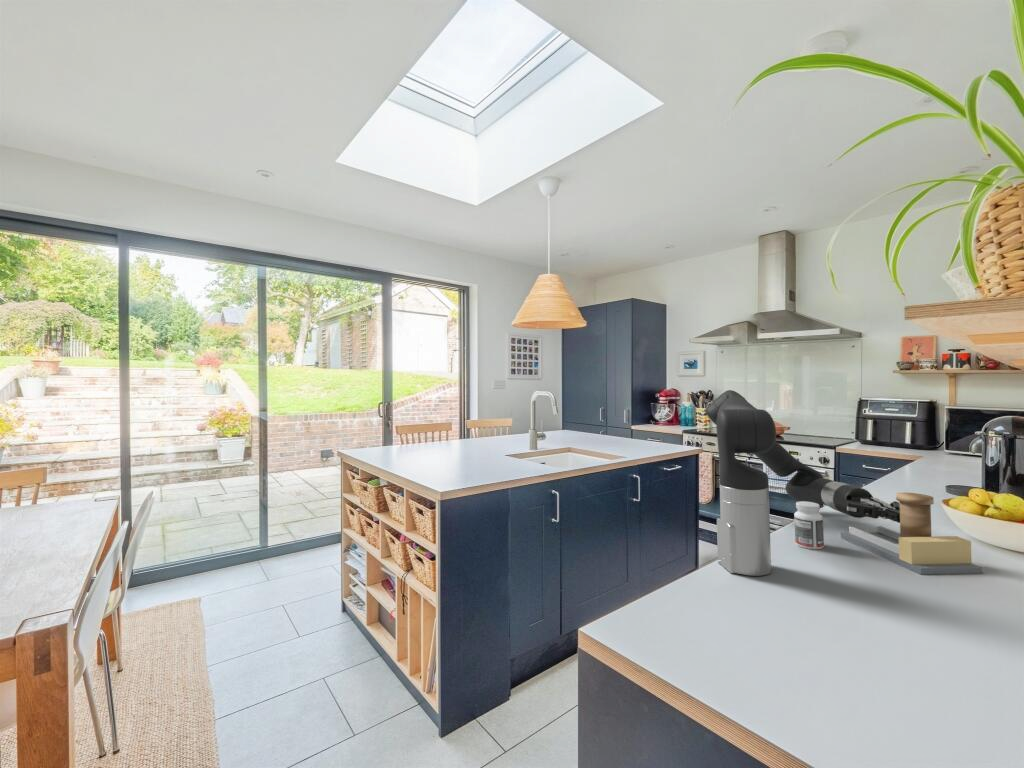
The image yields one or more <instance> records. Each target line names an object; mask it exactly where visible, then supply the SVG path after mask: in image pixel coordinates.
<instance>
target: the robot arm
mask: <svg viewBox="0 0 1024 768" xmlns="http://www.w3.org/2000/svg"><path fill="white" fill-rule="evenodd" d="M704 410H705V414H706V416H707V418H708V419H709V420H710V421H711V422H712V423H713V424H714V425H715V426H716V439H717V451H718V462H719V463H718V466H719V467H718V468H719V470H718V471H719V473H718V474H719V477H718V478H719V479H718V480H719V503H720V504H719V505H720V506H719V510H720V513H719V514H720V517H718V518H716V536H717V539H716V541H717V544H716V545H717V546H716V547H717V563H719V564H720V565H721V566H722V567H723V568H724V569H726V571H728V572H729V573H731V574H740V575H745V576H756V577H757V576H759V577H760V576H765V575H769V574H770V573H772V553H771V552H772V550H771V523H770V522H771V521H770V514H771V513H770V487H769V484H770V483H769V476H768V474H767V473H766V472H765V471H763V470H760V469H758V468H755V467H752V466H749V465H746V463H743V462H742V461H740V460H738V459H737V458H736V454H753V455H755V456H756V457H757V458H758V459H759V460H760V461H761V462H762V463H763V464H764V465H765V466H767V467H768V468H769V469H770V470H771V471H772V472H773V473H774V474H775V475H777V476H778V477H781V478H785V477H788V476H790V475H792V474H794V473H795V474H794V475H793V476H792V477H791V478H790V479H789V480H788V482H786V484H785V491H786V494H787V496H789V497H790V498H791V499H792V500H795V501H796V502H800V501H805V502H813V503H817V504H822V505H824V506H826V507H829V508H831V509H832V510H834V511H837V512H839V513H842V514H845V515H847V516H850V517H853V518H856V519H861V518H863V519H864V518H870V519H882V520H890V521H893V522H896V523H899V524H900V504H899V501H897V500H895V501H892V502H889V503H888V502H885V501H883V500H880V499H879V498H877V497H874V496H873V495H872V493H871V492H869V491H868V490H867V489H865V488H861V487H859V486H855V485H853V484H849V483H845V482H841V481H840V482H839V481H836V480H832V479H828V478H825V477H824V476H823V474H821V473H820V472H819V471H818V470H816V469H814V468H812V467H810V466H808V465H806V464H804V463H803V462H801V461H800V460H798V459H797V458H796V457H794V456H793V455H792V454H791V453H789V452H788V450H786V448H784V447H783V446H782V445H781V444H780V443H778V442H777V441H776V439H777V428H776V423H775V421H774V418H773V417H772V415H771V414H770V413H769V412H768V411H767V410H765V409H758V408H756V407H755V406H754V405H753V404H751V403H750V402H748V400H747V399H746V398H745V397H744V396H743V395H742V394H740V393H739V392H737V391H735V390H732V389H728V390H726V391H724V392H723V393H721V394H720V395H719V396H717V398H715V399H714V400H713V401H712V402H711V403H710V404H709V405H707V406H706V408H705V409H704ZM730 554H731V555H730ZM723 558H724V559H723ZM718 560H721V561H718Z"/></svg>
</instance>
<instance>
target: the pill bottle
mask: <svg viewBox="0 0 1024 768" xmlns="http://www.w3.org/2000/svg"><path fill="white" fill-rule="evenodd" d="M795 508H796V509H797V511H795V512H794V514H793V515H794V516H793V519H794V520H793V521H794V522H793V523H794V542H795V544H796V546H798V547H800V548H803V549H807V550H821V549H823V548H824V547H825V541H824V540H825V539H824V538H825V536H824V517H823V515H822V514H821V513H820V510H821V509H820V508H821V507H820V503H813V502H805V501H800V502H799V501H796V502H795Z"/></svg>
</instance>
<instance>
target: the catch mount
mask: <svg viewBox="0 0 1024 768" xmlns="http://www.w3.org/2000/svg"><path fill="white" fill-rule="evenodd" d="M848 530H849V532H840V538H841V539H843V540H845V541H847V542H849V543H851V544H853V545H857V546H858V547H860V548H862V549H865V550H867V551H869V552H870V553H874V554H875V555H878V556H880V557H881V558H885V559H886V560H889V561H891V562H892V563H895V564H897V565H899V566H902V567H904V568H906V569H908V570H911V571H913V572H914V573H917V574H919V575H959V574H962V575H963V574H964V575H965V574H966V575H967V574H983V567H982V566H979V565H978V564H974V563H972V541H971V540H969V539H967V538H963V537H960V536H957V535H949V536H944V535H941V536H932V537H901V533H900V532H897V531H895V530H893V529H889V528H887V527H885V526H882V525H878V526H877V532H876V531H874V532H873V531H872V532H870V531H869V532H867V531H865V530H862V529H859V528H856V527H854V526H849V527H848ZM896 544H899V545H896Z"/></svg>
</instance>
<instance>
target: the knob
mask: <svg viewBox="0 0 1024 768" xmlns="http://www.w3.org/2000/svg"><path fill="white" fill-rule="evenodd" d="M895 496H896V498H895V501H897V502H899V504H900V523H899V527H900V532H899V533H901V537H933V536H932V514H931V513H932V512H931V511H932V509H931V506H932V505H934V503H935V501H934V497H933V496H931V495H928V494H924V493H916V492H897V493H896V494H895ZM896 545H899V544H896Z"/></svg>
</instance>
